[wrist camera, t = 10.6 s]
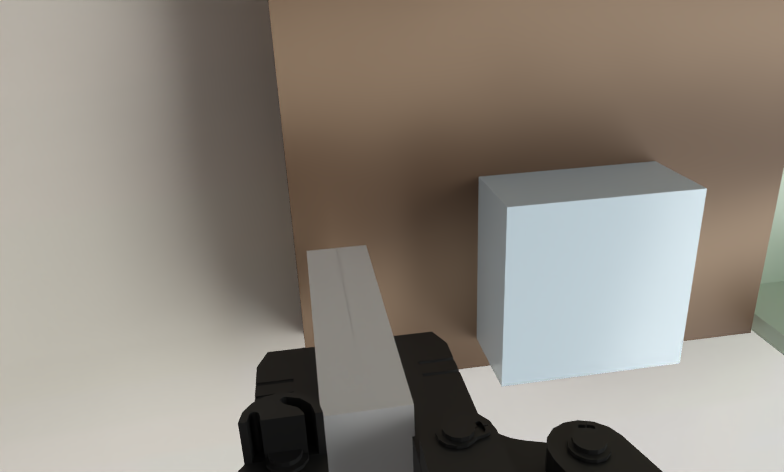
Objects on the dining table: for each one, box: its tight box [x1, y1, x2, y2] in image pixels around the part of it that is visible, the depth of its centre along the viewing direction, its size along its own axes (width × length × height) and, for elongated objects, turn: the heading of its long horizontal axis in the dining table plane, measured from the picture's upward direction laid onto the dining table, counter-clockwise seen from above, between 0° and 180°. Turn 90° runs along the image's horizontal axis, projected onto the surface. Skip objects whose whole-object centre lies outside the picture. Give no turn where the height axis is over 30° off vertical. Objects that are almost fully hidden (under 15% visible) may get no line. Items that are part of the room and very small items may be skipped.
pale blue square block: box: [477, 161, 707, 386], centre depth 17 cm, size 5×5×2 cm
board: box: [268, 0, 784, 369], centre depth 19 cm, size 13×14×3 cm
